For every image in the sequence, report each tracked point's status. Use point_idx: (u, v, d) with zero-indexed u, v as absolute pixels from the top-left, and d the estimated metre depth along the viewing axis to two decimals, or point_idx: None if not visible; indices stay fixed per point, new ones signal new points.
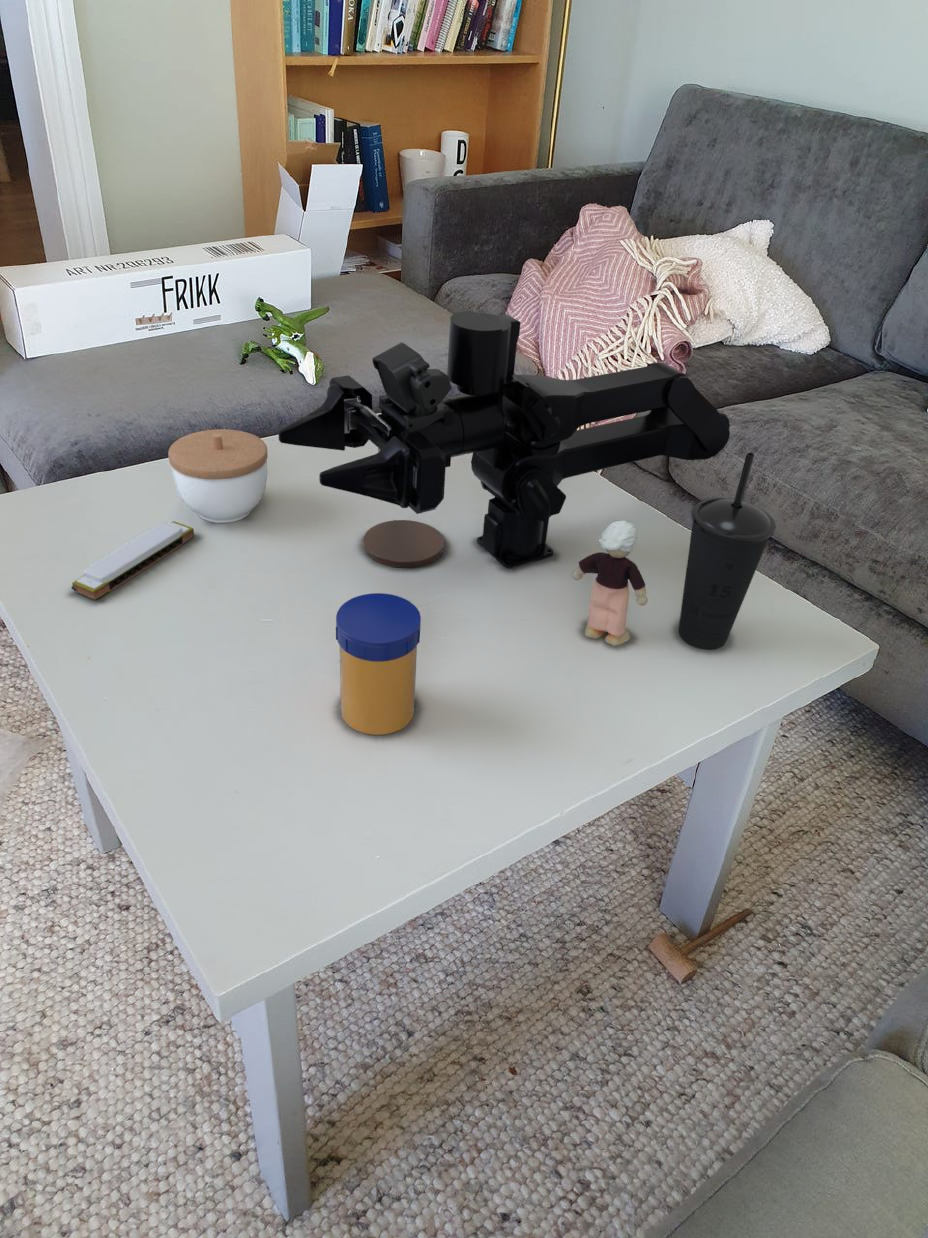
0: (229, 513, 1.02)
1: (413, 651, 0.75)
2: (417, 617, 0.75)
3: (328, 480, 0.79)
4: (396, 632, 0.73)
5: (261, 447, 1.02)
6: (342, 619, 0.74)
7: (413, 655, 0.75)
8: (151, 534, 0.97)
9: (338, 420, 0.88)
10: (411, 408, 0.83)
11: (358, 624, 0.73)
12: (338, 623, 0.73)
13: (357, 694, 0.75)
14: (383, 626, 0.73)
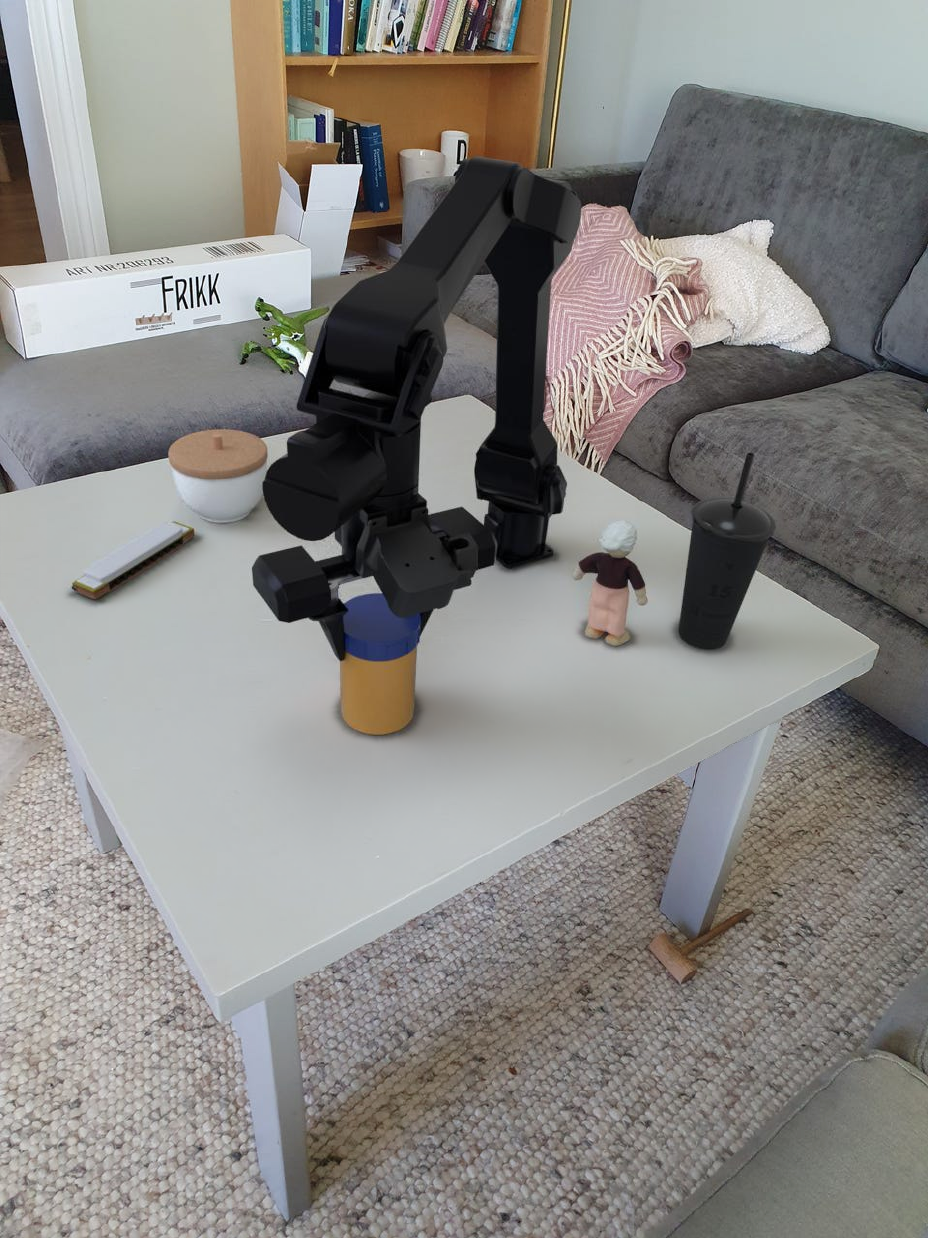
0: (229, 513, 1.02)
1: (413, 651, 0.75)
2: (417, 617, 0.75)
3: None
4: (396, 632, 0.73)
5: (261, 447, 1.02)
6: None
7: (413, 655, 0.75)
8: (151, 534, 0.97)
9: None
10: None
11: (358, 624, 0.73)
12: None
13: (357, 694, 0.75)
14: (383, 626, 0.73)
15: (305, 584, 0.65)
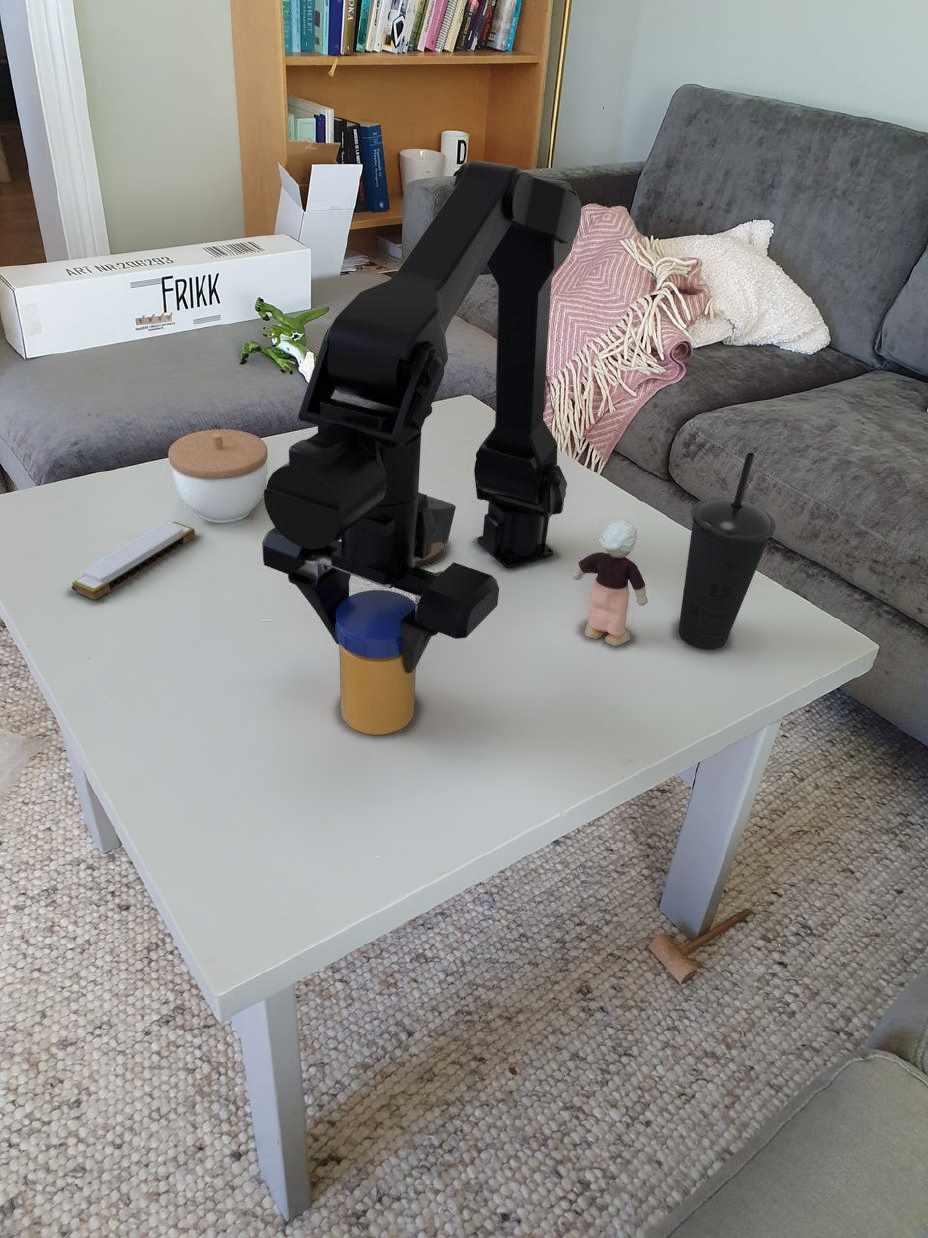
0: (229, 513, 1.02)
1: None
2: (359, 594, 0.76)
3: None
4: (391, 597, 0.76)
5: (261, 447, 1.02)
6: None
7: None
8: (152, 534, 0.97)
9: None
10: None
11: (399, 620, 0.73)
12: None
13: (357, 695, 0.75)
14: (389, 606, 0.75)
15: None
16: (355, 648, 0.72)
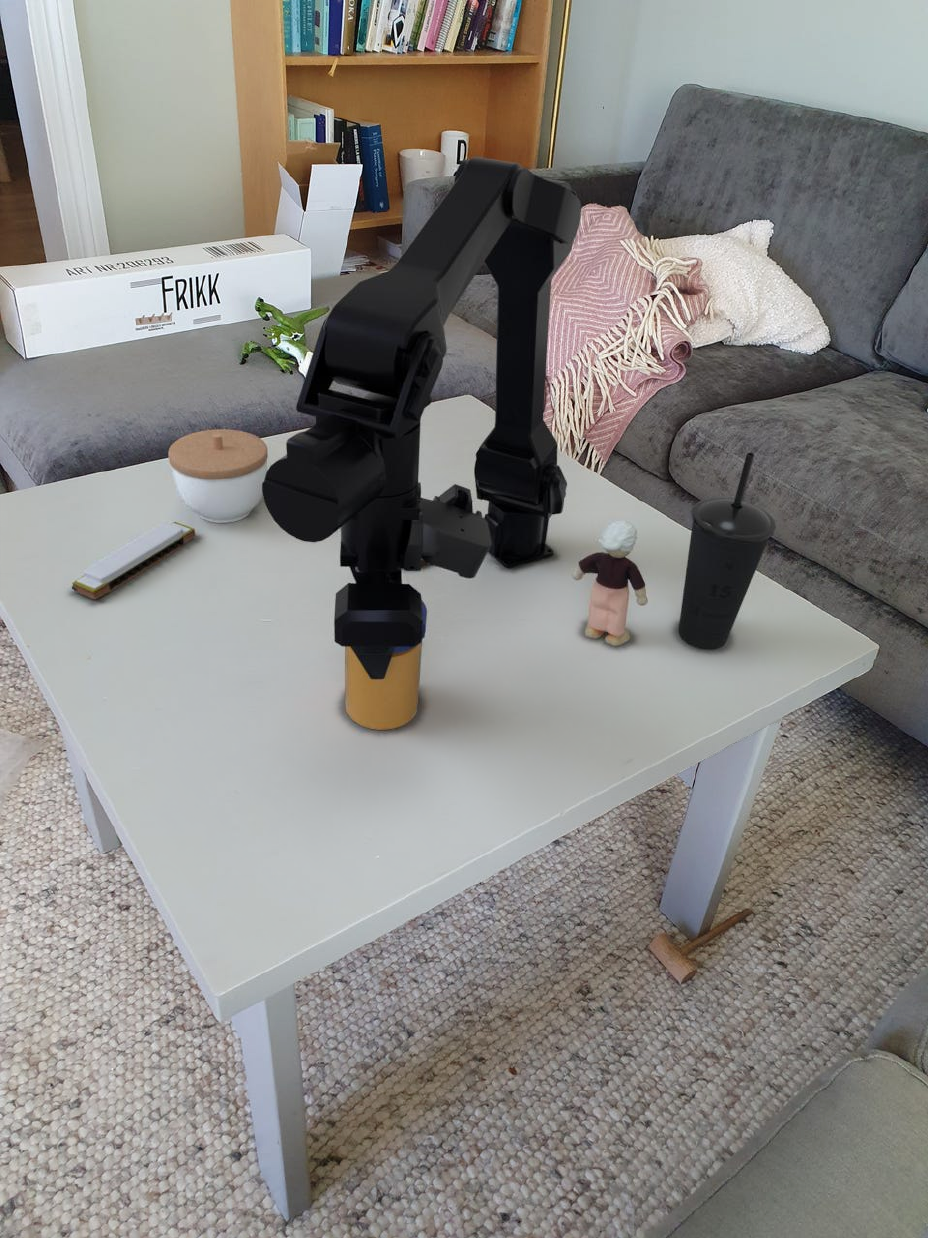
0: (229, 513, 1.02)
1: (418, 647, 0.75)
2: None
3: None
4: None
5: (261, 447, 1.02)
6: None
7: (418, 651, 0.76)
8: (152, 534, 0.97)
9: None
10: None
11: None
12: None
13: (362, 690, 0.76)
14: None
15: (413, 600, 0.65)
16: None
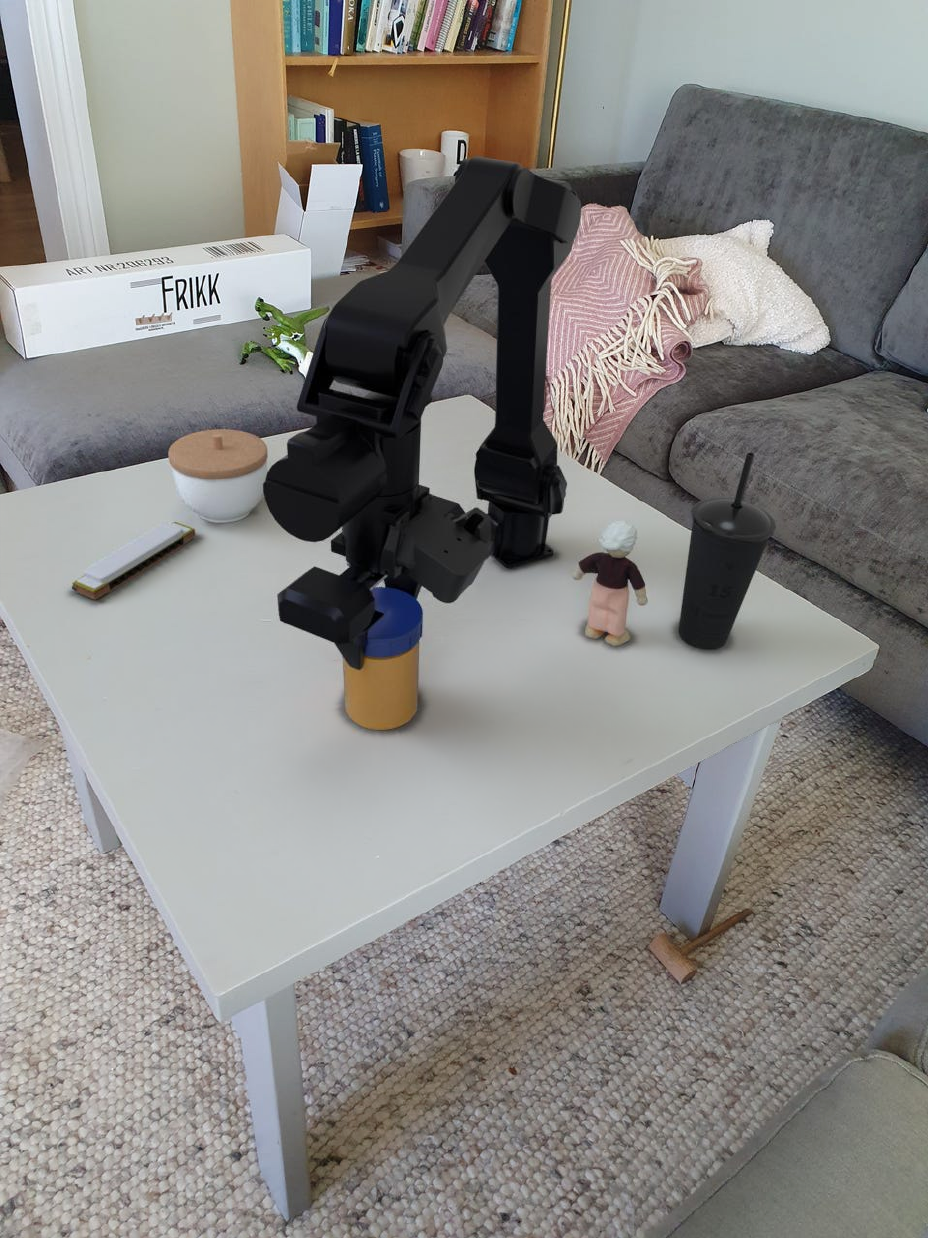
0: (229, 513, 1.02)
1: (415, 648, 0.75)
2: (379, 588, 0.76)
3: None
4: (405, 601, 0.75)
5: (261, 447, 1.02)
6: (386, 635, 0.72)
7: (416, 652, 0.75)
8: (152, 534, 0.97)
9: None
10: None
11: (394, 624, 0.73)
12: (393, 637, 0.72)
13: (360, 691, 0.76)
14: (396, 608, 0.74)
15: (354, 600, 0.64)
16: None
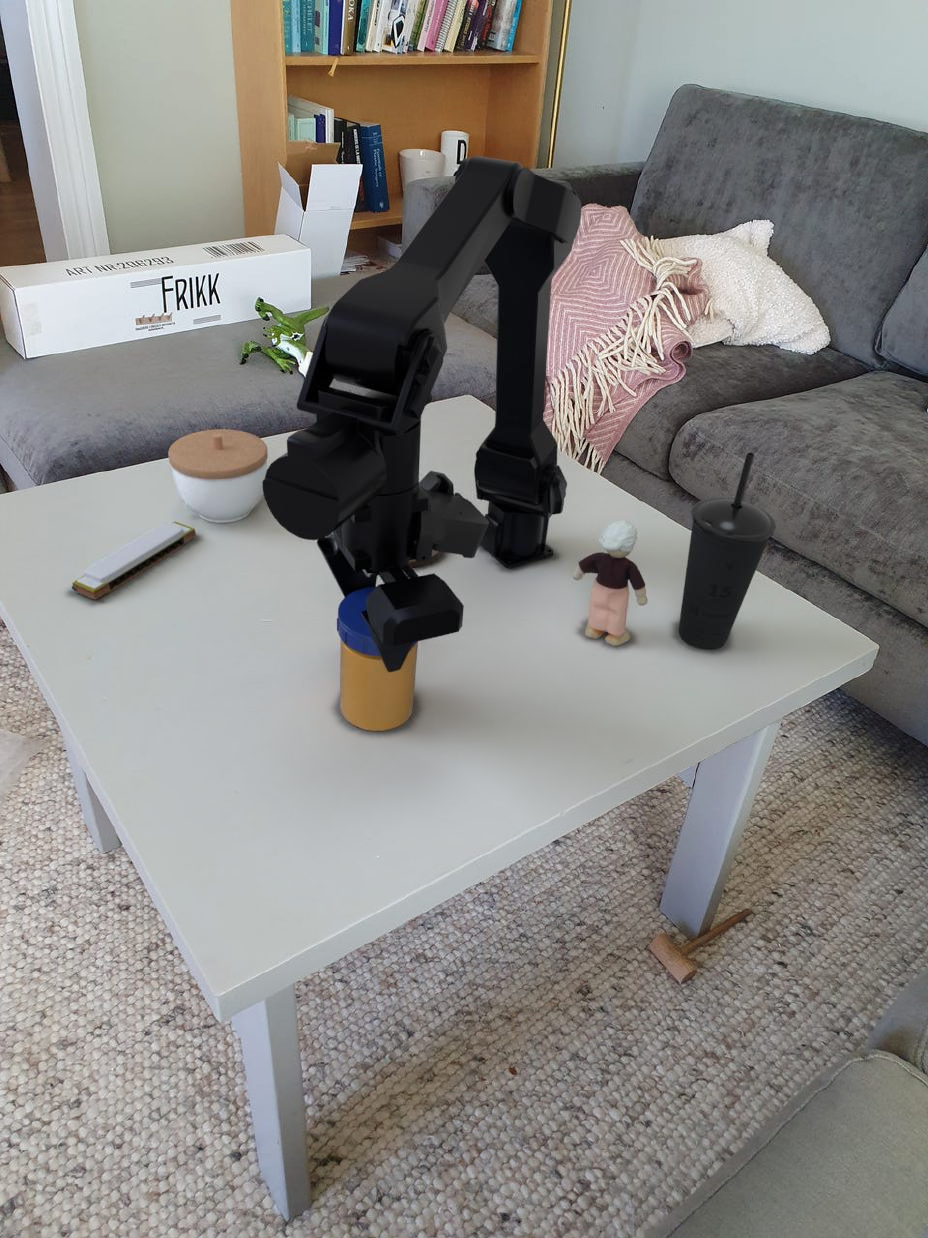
0: (229, 513, 1.02)
1: (416, 646, 0.75)
2: (349, 597, 0.75)
3: None
4: None
5: (261, 447, 1.02)
6: None
7: (416, 650, 0.76)
8: (152, 534, 0.97)
9: None
10: None
11: None
12: None
13: (363, 693, 0.75)
14: None
15: (446, 587, 0.66)
16: (375, 650, 0.72)
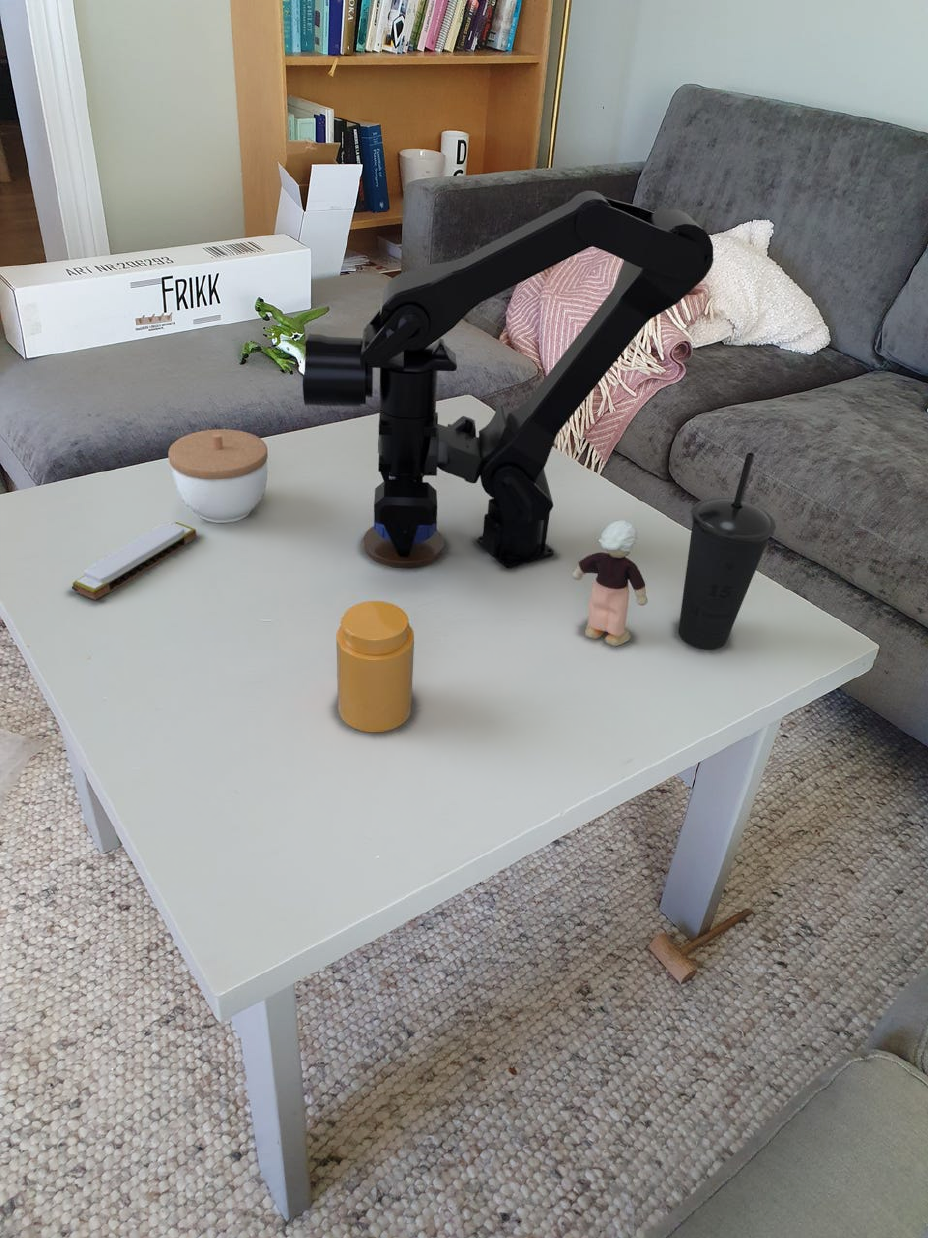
0: (229, 513, 1.02)
1: (413, 643, 0.76)
2: None
3: None
4: None
5: (261, 447, 1.02)
6: None
7: (413, 647, 0.76)
8: (153, 535, 0.97)
9: None
10: None
11: None
12: None
13: (362, 695, 0.75)
14: None
15: (430, 492, 0.91)
16: None
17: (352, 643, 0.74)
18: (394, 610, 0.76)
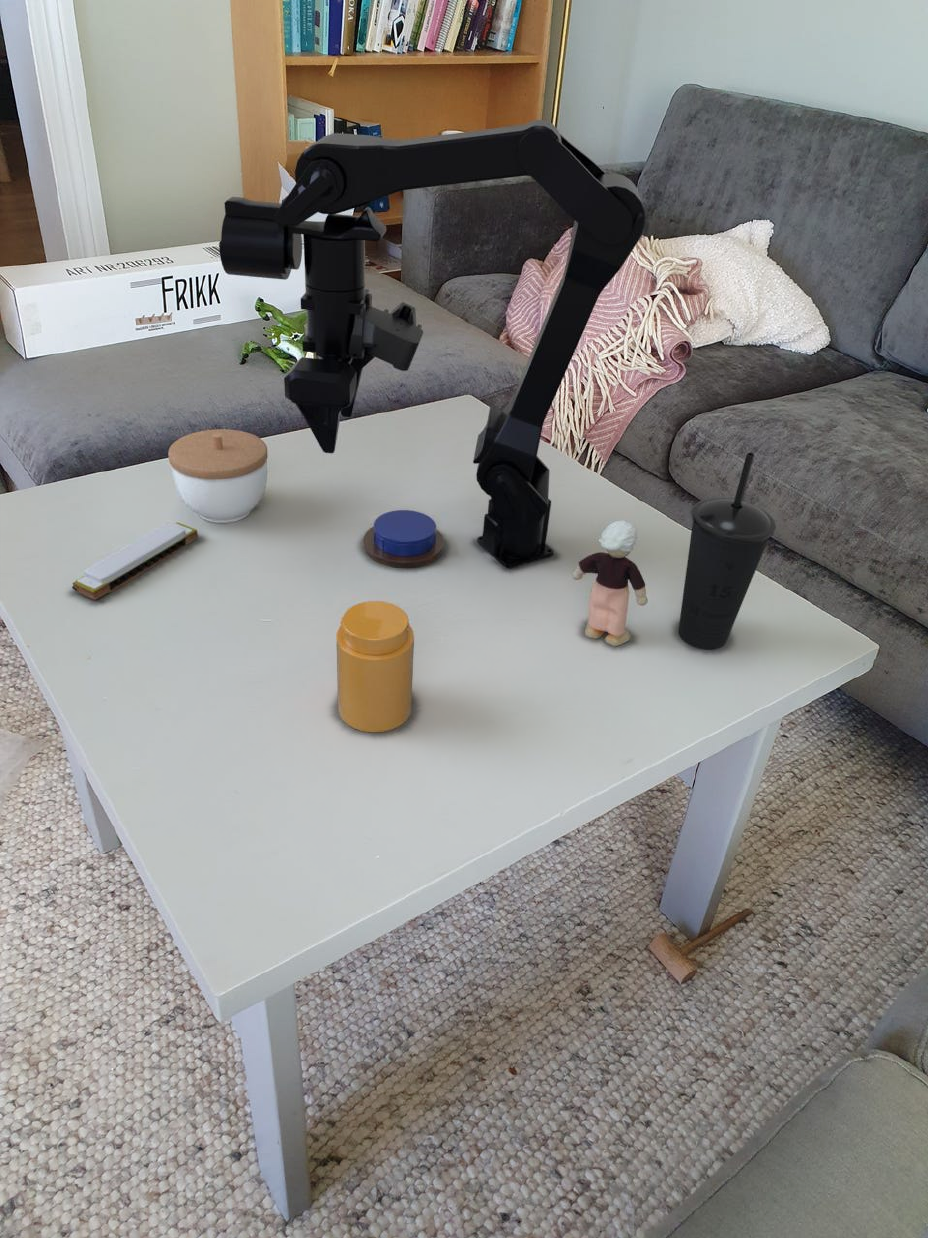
0: (229, 513, 1.02)
1: (413, 643, 0.76)
2: (389, 512, 1.03)
3: None
4: (413, 515, 1.03)
5: (261, 447, 1.02)
6: (423, 536, 0.99)
7: (413, 647, 0.76)
8: (154, 535, 0.97)
9: None
10: None
11: (421, 529, 1.00)
12: (428, 536, 0.99)
13: (362, 695, 0.75)
14: (412, 520, 1.02)
15: (346, 370, 0.85)
16: (390, 549, 0.99)
17: (352, 643, 0.74)
18: (394, 610, 0.76)
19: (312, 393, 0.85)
